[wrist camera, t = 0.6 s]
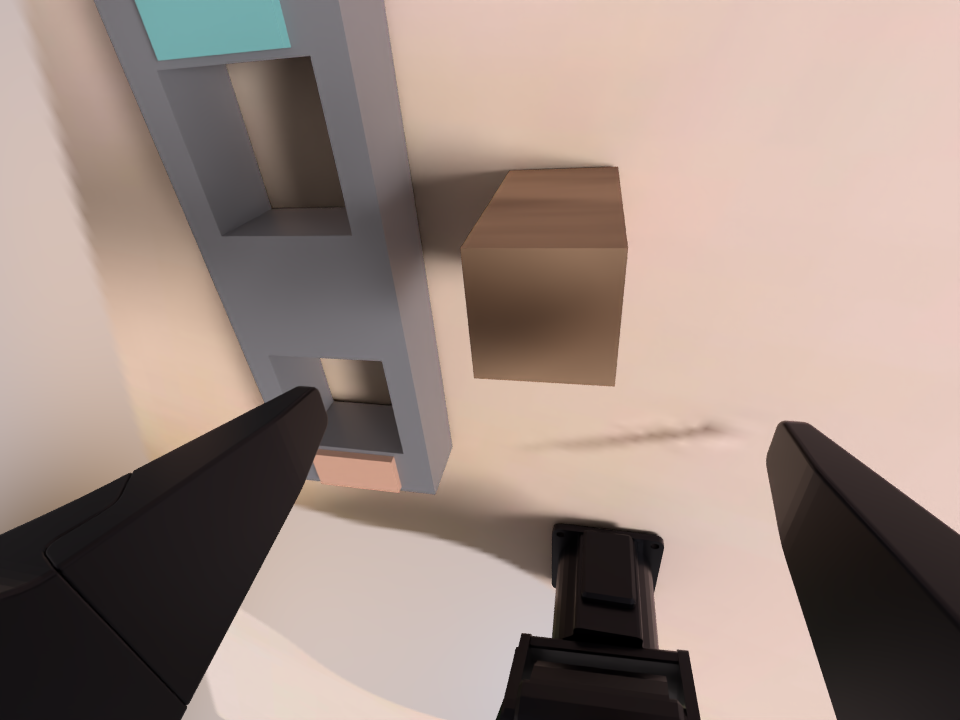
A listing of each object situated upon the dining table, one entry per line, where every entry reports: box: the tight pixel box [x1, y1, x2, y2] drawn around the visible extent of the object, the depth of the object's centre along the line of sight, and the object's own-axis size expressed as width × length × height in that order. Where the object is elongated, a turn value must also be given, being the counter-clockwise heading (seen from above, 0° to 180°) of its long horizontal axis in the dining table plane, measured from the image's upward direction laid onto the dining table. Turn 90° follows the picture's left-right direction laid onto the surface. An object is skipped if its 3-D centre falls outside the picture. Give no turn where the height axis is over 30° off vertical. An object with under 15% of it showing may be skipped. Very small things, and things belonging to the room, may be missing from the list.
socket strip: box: [94, 0, 452, 494], centre depth 21 cm, size 22×8×4 cm, turn 5°
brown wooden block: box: [460, 167, 628, 386], centre depth 16 cm, size 4×4×8 cm
